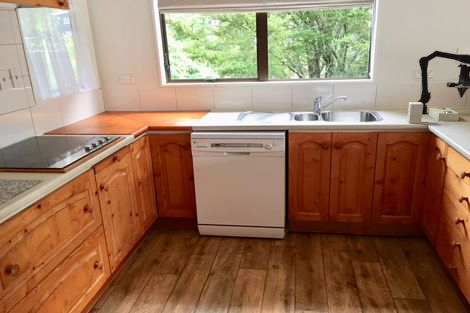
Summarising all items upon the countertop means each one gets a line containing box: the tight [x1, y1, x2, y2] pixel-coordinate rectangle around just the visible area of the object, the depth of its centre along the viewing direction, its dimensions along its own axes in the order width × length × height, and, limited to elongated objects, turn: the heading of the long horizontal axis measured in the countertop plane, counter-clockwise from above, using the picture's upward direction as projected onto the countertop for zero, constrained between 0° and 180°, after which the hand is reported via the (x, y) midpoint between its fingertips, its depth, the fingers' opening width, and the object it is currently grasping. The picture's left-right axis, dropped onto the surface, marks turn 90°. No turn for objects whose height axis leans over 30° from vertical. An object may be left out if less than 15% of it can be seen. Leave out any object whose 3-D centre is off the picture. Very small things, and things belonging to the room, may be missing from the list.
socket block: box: [428, 107, 460, 122], centre depth 246 cm, size 12×20×5 cm, turn 169°
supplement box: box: [406, 101, 423, 124], centre depth 235 cm, size 7×7×13 cm
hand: (461, 97), depth 247 cm, fingers closed
